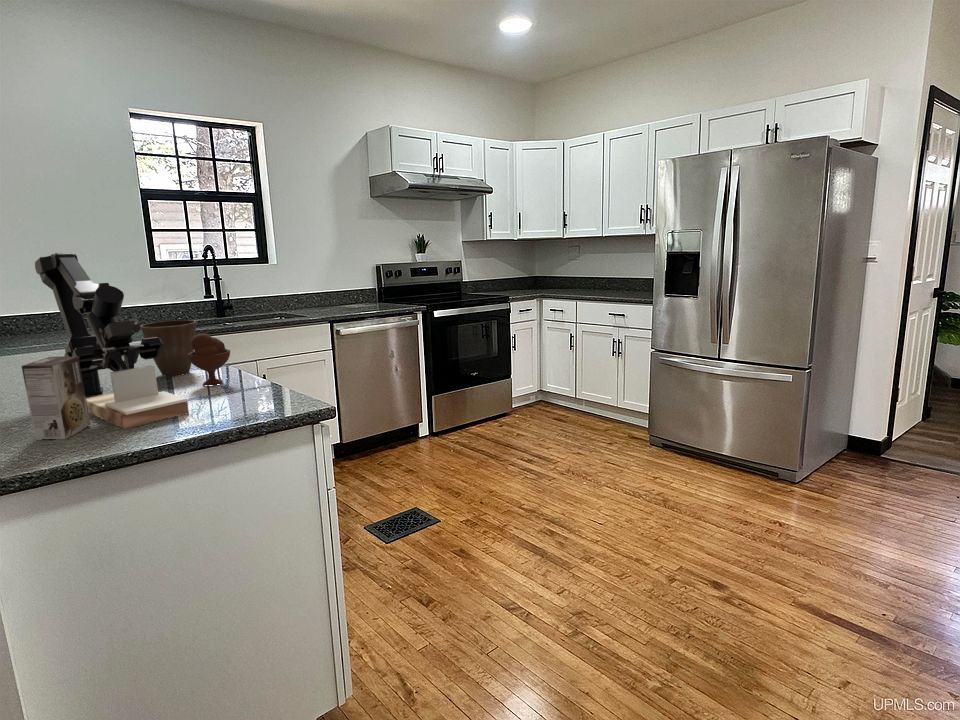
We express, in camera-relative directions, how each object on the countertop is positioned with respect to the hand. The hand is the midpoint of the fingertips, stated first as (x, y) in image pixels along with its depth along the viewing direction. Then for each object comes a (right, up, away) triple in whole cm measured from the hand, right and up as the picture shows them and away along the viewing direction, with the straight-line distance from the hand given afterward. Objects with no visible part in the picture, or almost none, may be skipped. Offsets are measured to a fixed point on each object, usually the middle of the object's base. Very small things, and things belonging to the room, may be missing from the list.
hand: (132, 380), depth 134 cm
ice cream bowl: (+6, -2, +28) cm, 29 cm away
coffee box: (-7, -11, -12) cm, 18 cm away
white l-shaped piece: (+5, -5, -3) cm, 8 cm away
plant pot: (-13, 0, +42) cm, 44 cm away
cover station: (-1, -8, +2) cm, 8 cm away
